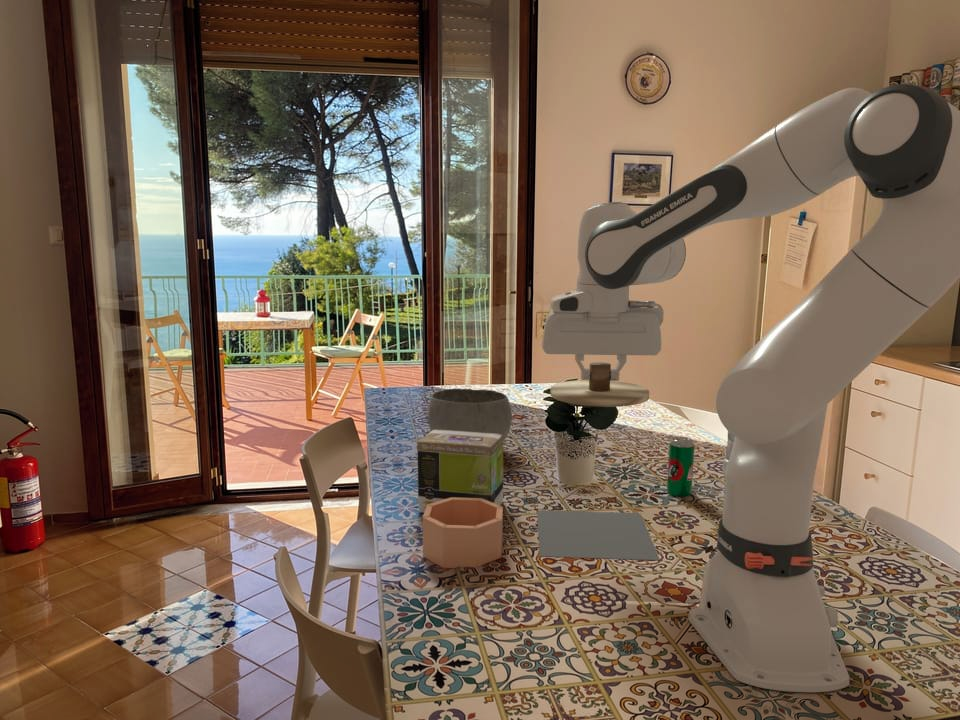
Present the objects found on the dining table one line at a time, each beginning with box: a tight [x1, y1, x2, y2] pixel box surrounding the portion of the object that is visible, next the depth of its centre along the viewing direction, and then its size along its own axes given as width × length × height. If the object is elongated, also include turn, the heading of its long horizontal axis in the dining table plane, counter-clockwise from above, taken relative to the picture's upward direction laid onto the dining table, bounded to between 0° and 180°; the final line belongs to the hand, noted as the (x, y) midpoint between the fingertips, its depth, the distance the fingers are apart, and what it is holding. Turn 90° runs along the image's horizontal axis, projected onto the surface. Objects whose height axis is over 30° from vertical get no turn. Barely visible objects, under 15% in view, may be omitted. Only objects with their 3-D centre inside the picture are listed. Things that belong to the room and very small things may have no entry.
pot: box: [422, 497, 504, 569], centre depth 121 cm, size 13×13×7 cm
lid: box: [550, 361, 650, 408], centre depth 123 cm, size 17×17×6 cm
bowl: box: [427, 388, 513, 442], centre depth 174 cm, size 20×20×15 cm
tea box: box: [416, 429, 504, 514], centre depth 139 cm, size 15×10×15 cm, turn 74°
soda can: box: [666, 436, 696, 498], centre depth 147 cm, size 5×5×12 cm
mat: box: [536, 509, 661, 561], centre depth 128 cm, size 20×20×1 cm
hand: (599, 379), depth 123 cm, fingers closed on lid, 4 cm apart
